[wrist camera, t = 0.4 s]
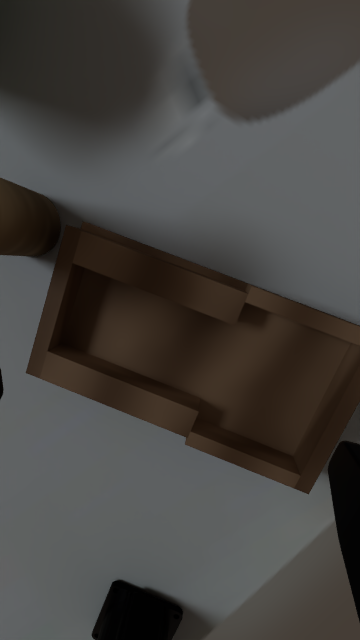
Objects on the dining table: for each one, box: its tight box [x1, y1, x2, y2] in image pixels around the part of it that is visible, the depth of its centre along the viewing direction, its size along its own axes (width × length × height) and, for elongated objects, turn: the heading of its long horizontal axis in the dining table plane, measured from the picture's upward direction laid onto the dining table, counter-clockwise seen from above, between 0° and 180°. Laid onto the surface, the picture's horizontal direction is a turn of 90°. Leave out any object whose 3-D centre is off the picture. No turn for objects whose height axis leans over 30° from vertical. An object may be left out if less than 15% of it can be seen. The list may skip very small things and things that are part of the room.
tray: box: [26, 222, 360, 494], centre depth 20 cm, size 20×11×3 cm, turn 70°
